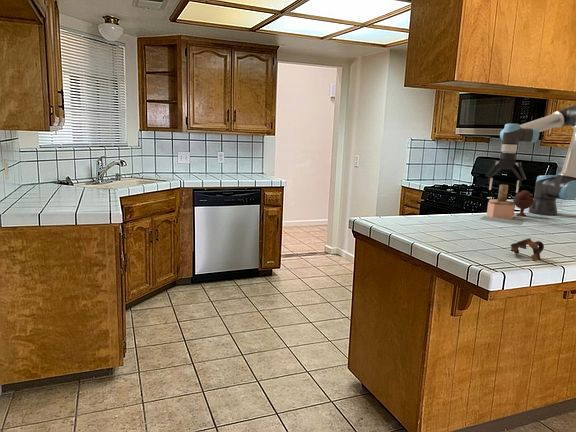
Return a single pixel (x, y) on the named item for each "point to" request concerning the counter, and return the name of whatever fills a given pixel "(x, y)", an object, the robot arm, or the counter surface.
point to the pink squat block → (500, 211)
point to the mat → (502, 220)
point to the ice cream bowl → (523, 201)
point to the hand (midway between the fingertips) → (503, 191)
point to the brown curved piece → (532, 244)
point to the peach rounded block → (502, 197)
